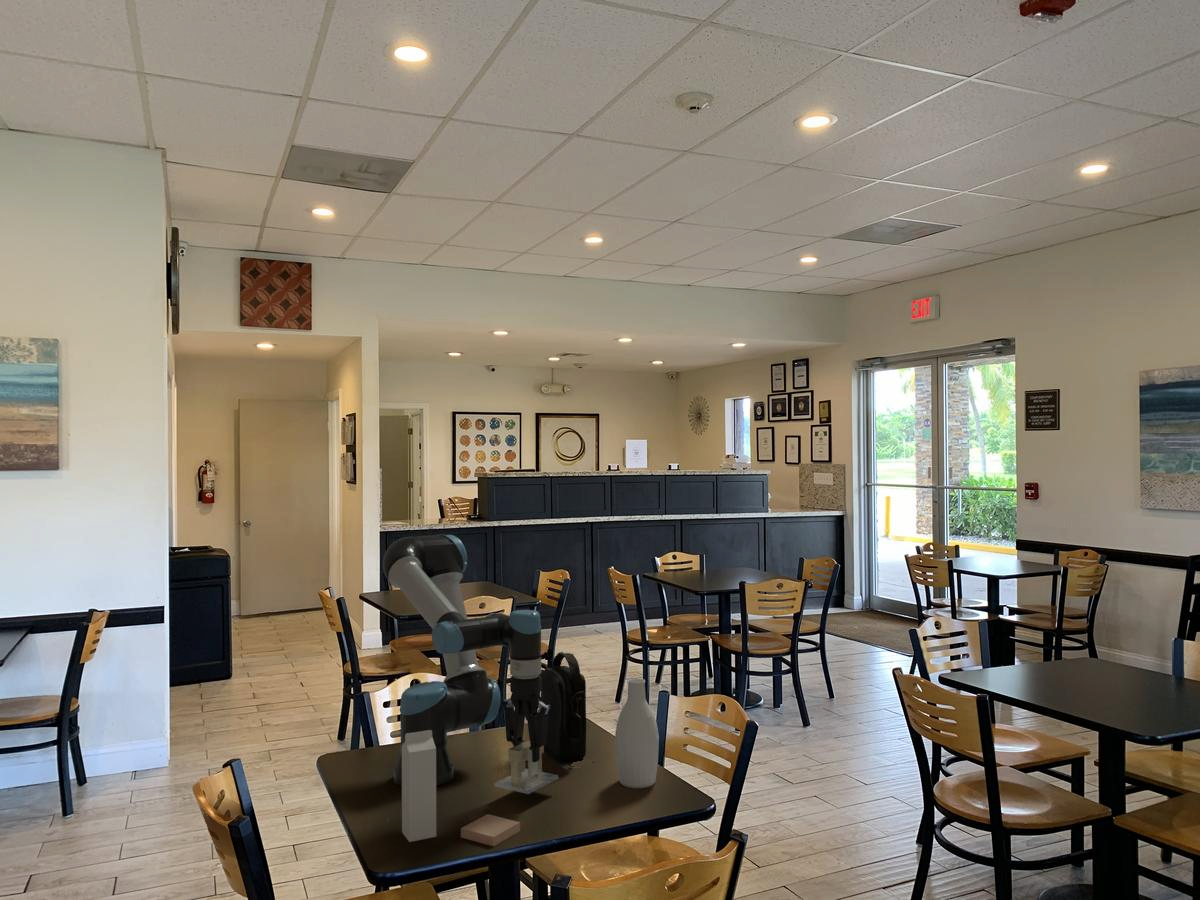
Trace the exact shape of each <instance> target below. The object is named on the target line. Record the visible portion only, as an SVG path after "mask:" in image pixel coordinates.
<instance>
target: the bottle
mask: <svg viewBox="0 0 1200 900" xmlns="http://www.w3.org/2000/svg"><path fill="white" fill-rule="evenodd" d="M645 684H646V680H645V678H644V679H643V678H630V679H627V700H626V702H625V703H624V705H623V707H622V709H621V710H620V713H619V715H618V719H617V723H616V728H615V735H614V747H615V748H614V749H615V763H616V768H617V776H618V782H619V783H620V784H621V785H622V786H623V787H626V788H629V789H630V788H631V789H645V788H649V787H652V786H653V785H654V784H655V783H656V779H657V773H658V763H659V747H660V745H659V744H660V743H659V741H660V740H659V739H660V736H659V735H660V734H659V729H658V724H657V719H656V717H655V714H654V712H653V710H652V708H651V707H650V705H649V703H648V702H647V699H646V687H645V686H646V685H645Z"/></svg>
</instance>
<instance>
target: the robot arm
mask: <svg viewBox="0 0 1200 900" xmlns="http://www.w3.org/2000/svg"><path fill="white" fill-rule="evenodd" d="M467 561H468V555H467V551H466V548H465V545H464V544H463V542H462V540H461V539H459V538H458V537H457V536H455V535H453V534H441V533H438V534H433V535H432V534H431V535H419V536H418V535H416V536H411V535H410V536H405V537H400V538H399V539H396V540H395V541H394V542H392V543H391V544H390V545H389V546H388V548H387V549H386V550H385V553H384V555H383V560H382V570H383V573H384V576H385V577H386V579H387V581H388V582H389V583H390V585H391V586H392V587H394V588H395V589H399V590H400V591H401V593H403V594H404V596H405V597H406V598H407V600H408V601H410V603H411V604H412V605H413V607H414V608H415V609H416V611H417V612H418V613H419V614H420V615H421V617H422V618H423V619H424V621H426V623H427V625H429V627H431V629H432V630H431V641H432V644H433V648H434V649H435V651H436V652H437V653H438V654H442V656H443V661H444V665H445V670H446V676H445V678H444V679H443V681H440V680H439V681H438V680H433V681H432V680H431V681H424V682H420V683H416V684H413V685H411V686H409V687H408V688H406V689H405V690H404V691H403V692H402V693H401V695H400V706H399V713H400V717H399V719H400V723H399V724H400V726H399V727H400V749H399V753H398V757H397V761H396V766H395V767H394V770H393V783H394V784H396V785H398V786H400V787H402V744H403V743H404V742H405V735H406V734H407V733H414V732H421V731H428V730H431V731H432V738H433V741H434V744H435V747H436V787H438V786H441V785H444V784H446V783H449V782H450V781H452V780H453V779H454V777H455V768H454V763H452V759H451V755H450V753H449V752H450V750H449V749H448V740H447V739H448V738H447V737H448V735H447V734H448V733H451V732H456V731H461V730H465V729H469V728H474V727H477V728H479V727H480V726H483V725H484V726H485V725H487V724H490V723H492V722H493V721H494V720H495V719H496V718H497V715H498V714H499V709H500V706H501V705H502V708H503V711H504V724H505V735H506V736H505V738H506V741H507V742H510V743H512V745H513V747H515V746H517V745H520V744H522V743H524V742H525V740H524V739H523V738H524V731H525V730H524V729H525V722H527V728H528V735H529V740H530V745H531V747H529V749H528V760H527V769H528V776H529V777H531V776H534V775H536V774H538V767H537V761H539V759H540V747H542V746H544V745H546V744H547V730H548V714H549V712H550V709H551V706H550V705H545V704H544V703H543V702H542V699H541V676H540V674H541V670H542V625H541V614H540V612H539V611H537V610H535V609H534V610H533V609H517V610H513V611H511V612H510V614H509V615H508V614H505V613H501V612H499V613H498V612H497V613H496V612H493V613H489V614H487V615H486V616H482V617H474V618H468V615H467V611H466V610H467V609H466V607H465V602H464V598H463V593H462V589H461V585H460V582H461V581H462V579H463V578H464V574H463V573H464V572H466V568H467V566H468V562H467ZM494 647H506V648H509V664H510V665H509V671H510V673H509V674H510V675H511V676H510V679H509V682H510V683H509V686H510V687H509V689H510V692H511V695H510V698H507V699H504V700H501V691H500V690H501V689H500V687H499V685H498V683H497V682H496V680H495V679H494V678H491V677H488V676H487V675H488V674H487V672H486V669H485V668H483V667H481V666H479V662H478V658H477V654H476V650H482V649H487V648H488V649H489V648H494ZM538 709H539V710H538ZM538 712H539V716H538ZM537 718H538V720H537ZM525 720H526V721H525ZM521 768H522V772H524V771H525V768H526V761H524V762H522V763H521Z"/></svg>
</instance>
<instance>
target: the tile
mask: <svg viewBox="0 0 1200 900" xmlns="http://www.w3.org/2000/svg"><path fill="white" fill-rule="evenodd" d="M519 832H521V822H520V821H516V820H513V819H510V818H509V819H507V818H504V817H500V816H497V815H493V814H489V813H488V814H485V815H484V816H482V817H480V818H477V819H476V820H474V821H472V822H470V823H468V824H466V825H464V826H462V827H460V838H462V839H466V840H470V841H473V842H477V843H479V844H483V845H487V846H490V847H491V846H492V847H496V846H497V845H499V844H501V843H502V842H504V841H506V840H507V839H509V838H511V837H512V836H515V835H516V834H517V833H519Z"/></svg>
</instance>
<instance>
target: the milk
mask: <svg viewBox="0 0 1200 900" xmlns="http://www.w3.org/2000/svg"><path fill="white" fill-rule="evenodd" d="M401 832H402V834H403V835H404V837H405V839H406V840H407V841H408V842H409V843H412V842H413V843H414V842H418V841H421V840H427V839H432V838H437V786H436V747H435V744H434V741H433V738H432V731H431V730H428V731H421V732H414V733H407V734H406V735H405V742H404V743H403V744H402V786H401Z"/></svg>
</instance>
